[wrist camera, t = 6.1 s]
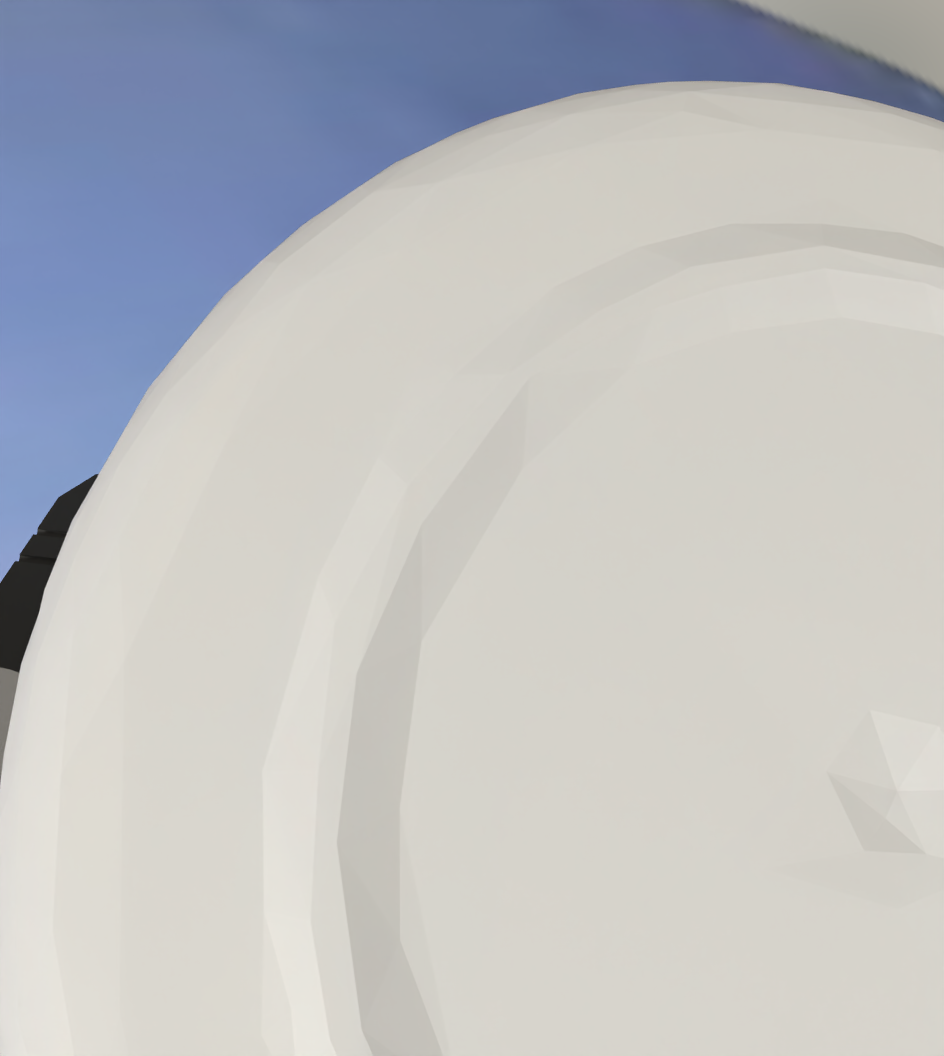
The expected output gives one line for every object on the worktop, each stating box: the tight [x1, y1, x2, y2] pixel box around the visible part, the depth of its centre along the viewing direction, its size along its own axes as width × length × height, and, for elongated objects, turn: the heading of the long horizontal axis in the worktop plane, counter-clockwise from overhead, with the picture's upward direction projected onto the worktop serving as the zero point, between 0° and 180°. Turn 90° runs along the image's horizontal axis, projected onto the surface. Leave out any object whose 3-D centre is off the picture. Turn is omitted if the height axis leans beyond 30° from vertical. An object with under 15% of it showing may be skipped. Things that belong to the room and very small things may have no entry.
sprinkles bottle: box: [0, 81, 944, 1056], centre depth 8 cm, size 5×5×14 cm
